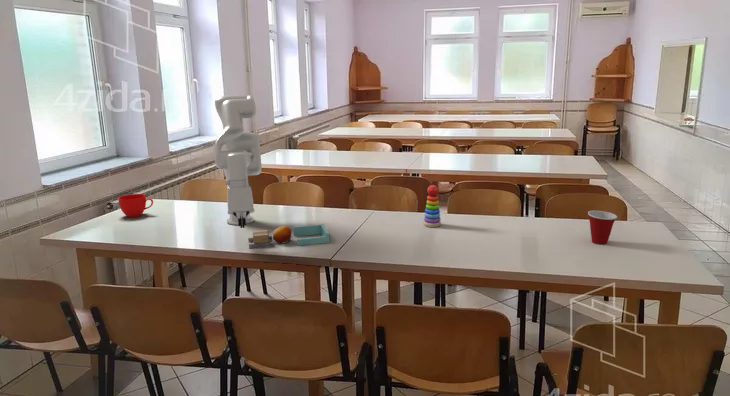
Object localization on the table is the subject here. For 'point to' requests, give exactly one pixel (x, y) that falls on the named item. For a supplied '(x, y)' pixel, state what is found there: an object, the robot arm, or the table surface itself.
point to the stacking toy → (432, 208)
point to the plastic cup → (601, 226)
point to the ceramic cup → (133, 204)
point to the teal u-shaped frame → (310, 231)
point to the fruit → (282, 234)
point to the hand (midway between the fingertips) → (242, 227)
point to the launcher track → (260, 243)
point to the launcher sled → (261, 236)
